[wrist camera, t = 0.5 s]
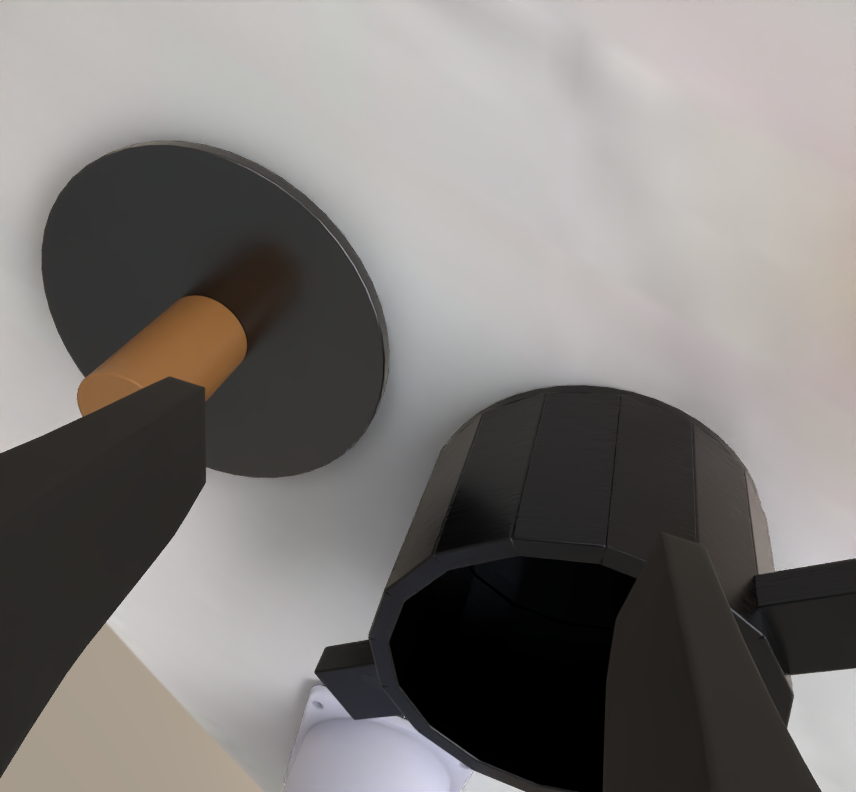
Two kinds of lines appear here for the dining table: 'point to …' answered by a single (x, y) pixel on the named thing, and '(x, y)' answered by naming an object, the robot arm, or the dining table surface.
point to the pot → (569, 581)
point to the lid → (217, 302)
